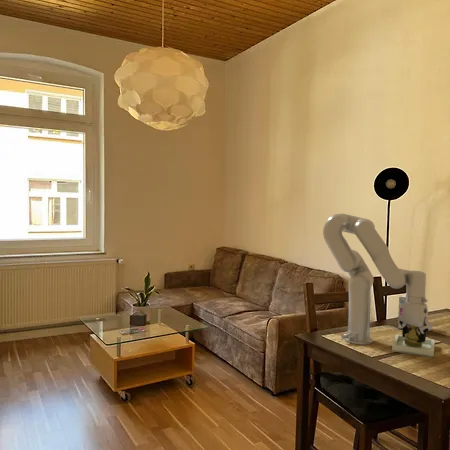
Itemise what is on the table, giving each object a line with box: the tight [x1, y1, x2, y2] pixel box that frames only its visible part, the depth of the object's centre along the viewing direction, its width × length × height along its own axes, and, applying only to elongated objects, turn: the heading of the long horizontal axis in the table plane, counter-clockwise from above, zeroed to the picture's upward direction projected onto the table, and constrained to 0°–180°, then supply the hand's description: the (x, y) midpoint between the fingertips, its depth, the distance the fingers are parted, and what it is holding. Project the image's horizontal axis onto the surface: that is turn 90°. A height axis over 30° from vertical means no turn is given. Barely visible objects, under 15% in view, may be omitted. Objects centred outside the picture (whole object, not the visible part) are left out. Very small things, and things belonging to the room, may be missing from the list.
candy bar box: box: [397, 293, 411, 330], centre depth 218 cm, size 11×5×16 cm, turn 144°
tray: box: [391, 334, 436, 359], centre depth 188 cm, size 16×16×3 cm
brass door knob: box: [404, 324, 423, 347], centre depth 187 cm, size 7×7×10 cm
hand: (413, 339), depth 187 cm, fingers open, 7 cm apart
